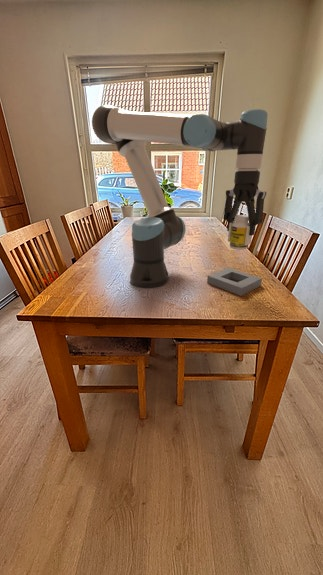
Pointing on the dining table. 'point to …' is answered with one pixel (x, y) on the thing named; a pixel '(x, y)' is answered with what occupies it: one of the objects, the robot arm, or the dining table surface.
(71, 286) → the dining table surface
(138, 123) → the robot arm
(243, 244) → the pill bottle
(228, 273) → the bottle holder
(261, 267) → the dining table surface
